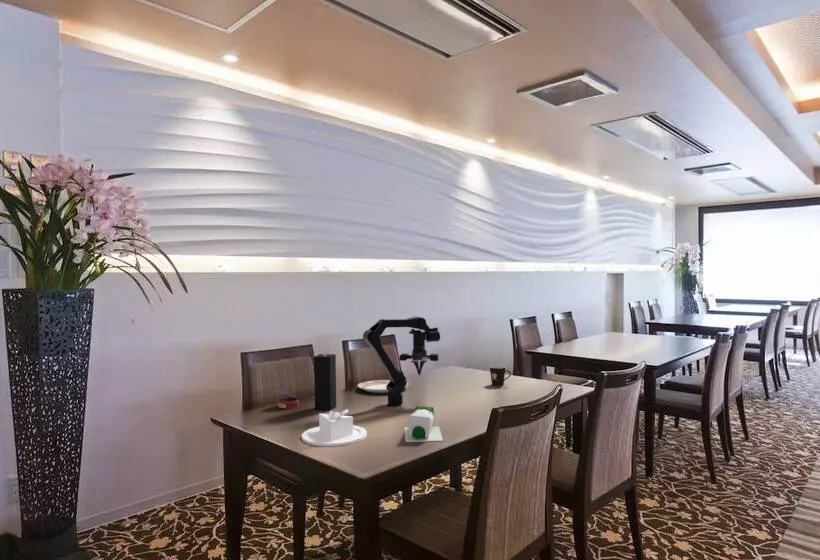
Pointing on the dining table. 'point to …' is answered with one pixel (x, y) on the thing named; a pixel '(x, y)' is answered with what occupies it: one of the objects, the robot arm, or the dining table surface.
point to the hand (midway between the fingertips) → (419, 374)
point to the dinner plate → (376, 386)
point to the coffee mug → (498, 375)
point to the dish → (334, 431)
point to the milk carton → (421, 422)
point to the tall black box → (325, 381)
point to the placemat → (434, 436)
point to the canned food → (287, 400)
